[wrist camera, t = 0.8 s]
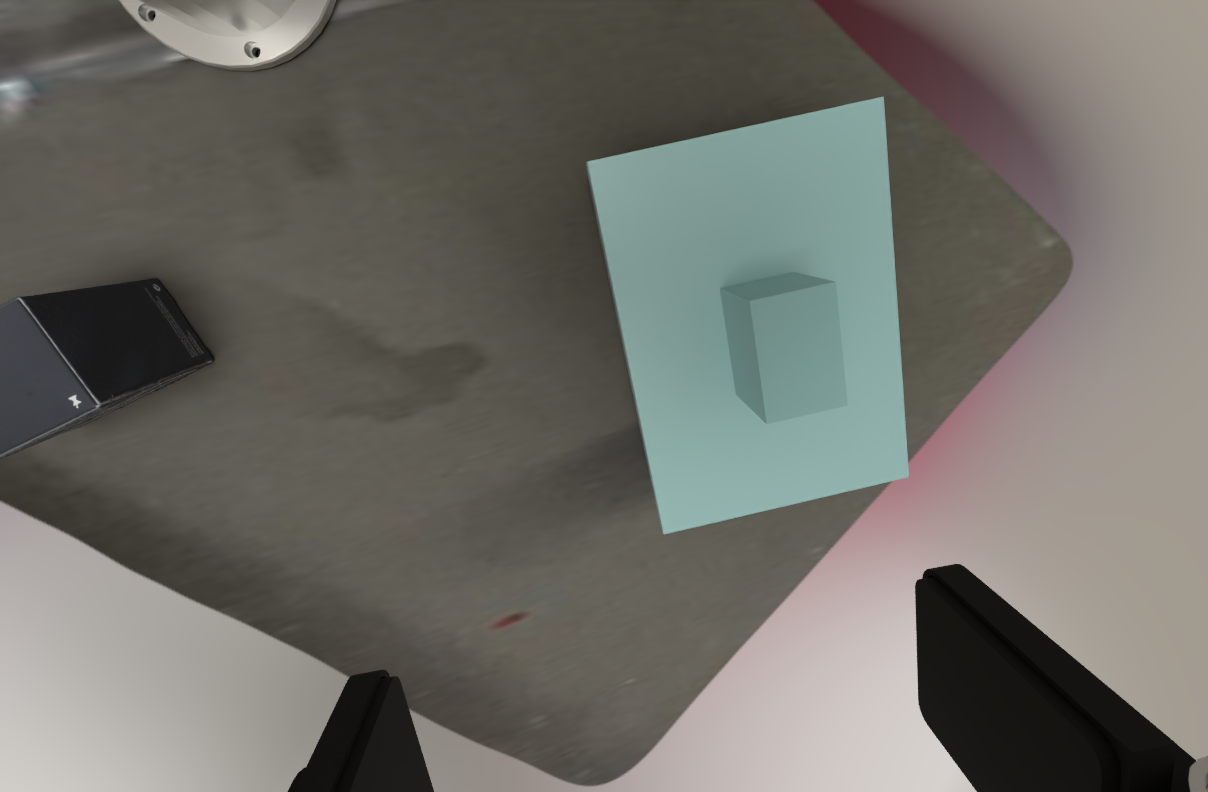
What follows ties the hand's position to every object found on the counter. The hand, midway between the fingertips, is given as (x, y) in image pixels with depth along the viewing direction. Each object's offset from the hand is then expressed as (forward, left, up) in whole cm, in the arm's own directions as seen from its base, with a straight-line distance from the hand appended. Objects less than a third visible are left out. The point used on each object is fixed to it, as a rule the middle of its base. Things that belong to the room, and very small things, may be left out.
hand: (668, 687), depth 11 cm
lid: (0, +10, -24) cm, 26 cm away
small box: (-6, -29, -33) cm, 44 cm away
